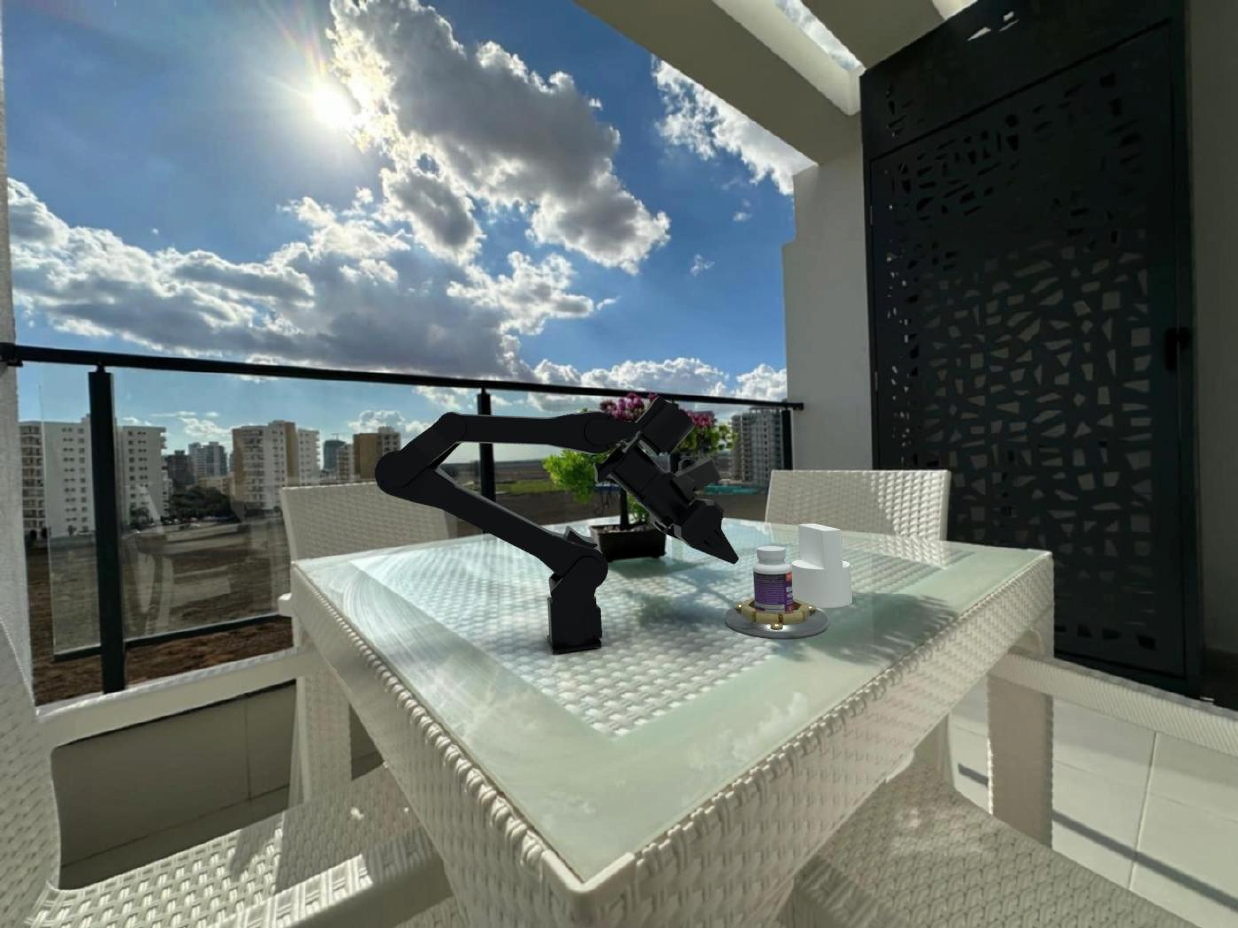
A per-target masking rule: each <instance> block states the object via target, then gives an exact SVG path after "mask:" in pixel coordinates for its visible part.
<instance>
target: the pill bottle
mask: <svg viewBox="0 0 1238 928" xmlns="http://www.w3.org/2000/svg"><path fill="white" fill-rule="evenodd" d="M786 553H787V550H786V547H783V546H778V545H776V546H775V545H772V546H771V545H767V546H766V545H765V546H759V547H757V548H756V558H757V559H758V561H757V562H755V563H754V564H753V567H752V577H753V596H754V597H753V598H754V600H755V609H756V610H758V611H768V612H778V613H780V612H787V611H794V606H793V581H792V565H790V563H788V562H786V561H785V559H786V557H787V554H786Z"/></svg>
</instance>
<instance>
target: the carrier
mask: <svg viewBox="0 0 1238 928" xmlns="http://www.w3.org/2000/svg"><path fill="white" fill-rule="evenodd" d="M793 606H794V611H787V612H780V613H778V612H768V611H758V610H756V609H755V600H754V597H751V598H749V599H746V600H744V601H743V603H741V602H740V603H739V602H737V603H734V607H731V608H729V609H728V610H727V611H726V612H725V622H726V625H727V626H728V628H730V629H731V630H733V631H734V632H738V633H739V634H743V635H747V636H751V637H755V638H756V637H758V638H763V639H764V638H765V639H774V640H775V639H777V640H780V639H781V640H789V639H794V640H795V639H801V638H802V639H803V638H808V637H812V636H817V635H819V634H822V633H823V632H825V631H826V630H827V628H828V624H829V623H828V616H827V615H826V613H824V612H823V611H821V610H819V609H817V607H816V606H814V605H808V604H807V603H805V602H803V601H800V600H798V599H793Z"/></svg>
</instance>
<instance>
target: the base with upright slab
mask: <svg viewBox="0 0 1238 928" xmlns="http://www.w3.org/2000/svg"><path fill="white" fill-rule="evenodd" d="M797 525H798V526H797V527H798V528H797V529H798V547H799V549H798V550H799V559H796V560H793V561H792V562H791V569H792V587H793V599H798V600H800V601H803V602H805V603H807V604H808V605H814V606H816V608H821V609H822V608H823V609H824V608H827V609H830V608H831V609H832V608H835V609H836V608H843V607H847V606H849V605H851V604H852V603H853V593H852V591H853V590H852V571H851V563H850V562H848V561H845V560H843V545H842V529H839V528H835V527H831V526H827V525H822V524H819V523H800V524H797ZM846 605H847V606H846Z"/></svg>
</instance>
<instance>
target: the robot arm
mask: <svg viewBox="0 0 1238 928" xmlns="http://www.w3.org/2000/svg"><path fill="white" fill-rule="evenodd" d="M694 429H695V423H694V421H693V420H692V419H691V417H690V416H689V415H688V414H687V413H686V412H685V411H684V410H683V409H681V408H678V407H677V406H676V405H674V404H673V403H671V402H670V401H667V400H665V398H663V396H661V395H659V396H657V397H655V398H654V399H653V400H652V402H651V403H649V406H648V408H647V409H646V410H645V411H644V412H643V413H642V414H641V416H640V417H639V418H638V419H637V420H635V422H634V421H631V420H629V421H626V420H618V419H617V420H616V419H614V418H613V416H611V414H609V413H608V412H606V411H603V410H588V411H579V412H574V413H567V414H562V415H557V416H550V417H541V416H518V415H516V416H515V415H496V414H495V415H492V414H474V413H473V414H472V413H471V414H470V413H460V412H457V411H448V412H445V413H443V414H442V415H440V417H439V418H438V419H437V420H436V421H435V422H434V423H433V424H431V426H429V427H428V428H427V429H425V430H423V432H421V433H420V434H418V435H417V436H416V437H414V438H413V439H412V440H410V441H409V442H408V443H407V444H406V445H404V447H402V448H401V449H397V450H392V451H389V452H387V453H386V454H384V455H382V456H381V457H380V458H379V460H378V461H377V463H376V465H375V468H374V479H375V482H376V485H377V487H378V489H380V490H381V491H382V492H383V493H385V494H386V495H389V496H391V497H395V498H397V499H402V500H404V501H408V502H410V503H415V504H417V505H423V506H427V507H431V508H436V509H440V510H442V511H444V512H446V513H448V514H450V515H452V516H454V517H456V518H458V519H460V520H462V521H464V522H466V523H468V524H470V525H471V526H474V527H476V528H478V529H480V530H481V531H484V532H486V533H488V534H490V535H492V536H494V537H495V538H498V539H500V540H502V541H504V542H506V543H508V544H510V545H511V546H513V547H516V548H517V549H519V550H521V551H523V552H525V553H527V554H530V555H531V556H533V557H535V558H536V559H538V560H539V561H540V562H541V563H543V564H544V565H545V566H546V567H547V568H548V569H550V570H551V571H552V572H553V573H552V574H551V575H550V576H549V577H548V587H549V593H550V594H549V595H550V597H546V598H547V599H546V601H547V603H546V604H547V620H548V623H547V624H548V634H547V635H546V638H547V639H546V640H547V642H548V644H549V647H550V650H551V652H552V653H553V654H554V655H555V654H563V653H569V652H576V651H582V650H589V649H595V648H596V649H597V648H601V647H602V646H603V645H602V641H601V639H602V638H603V625H602V608H601V607H600V606H599V605H598V603H597V597H596V595H595V594H596V591H597V589H598V588H599V587H600V586H601V585H603V583H604V582H605V581H606V579H607V576H608V573H609V563H608V561H607V557H606V556H605V555H604V554H603V552H602V551H601V550H600V548H599V547H598V546H599V545H598V543H597V542H596V541H595V539H594V538H593V537H592V536H585V535H584V534H581V533H579V532H577V531H576V530H575V529H574V528H572V527H571V526H570V525H567V526H566V527H565V530H564V533H561V532H556V531H553V530H550V529H547V528H545V527H543V526H541V525H539V524H537V523H535V522H534V521H531V520H530V519H528V518H527V517H523V516H522V515H520V514H518V513H516V512H514V511H512V510H510V509H509V508H507V507H504V506H502V505H500V504H498V503H497V502H494V501H492V500H491V499H488V498H487V497H486V496H483V495H481V494H479V493H477V492H475V491H474V490H471V489H469V488H468V487H466V486H464V485H462V484H460V483H458V482H457V481H456V480H455V479H454V478H453V477H451V476H450V475H449V474H448V473H446V471H444V470H443V469H442V468H441V467H440V466H441V464H443V462H445V460H447V459H448V458H449V457H450V456H451V454H452V453H453V452H454V451H455V450H456V449H457V448H458V447H460V445H462V444H463V443H467V444H468V443H469V444H470V443H471V444H498V445H499V444H501V445H528V446H531V445H532V446H550V447H553V448H558V449H562V450H566V451H571V452H575V453H581V454H584V455H585V454H587V455H593V456H594V455H600V454H605V453H607V452H609V451H610V450H612V448H614V446H615V445H616V443H617V442H622V441H625V440H630V439H632V440H631V441H630V442H629V443H628V444H627V446H626V447H624V448H623V449H622V450H621V449H620V448H617V447H616V448H614V450H612V452H611V453H610V454H609V455H608V456H607V457H606V458H605V459H604V460H603V461H602V462H594V463H592V464H593V465H592V466H593V469H594V482H596V483H598V484H601V483H603V482H604V481H605V480H606V478H607V477H610V478H612V479H613V481H614V482H616V483H617V484H618V485H619V486H620V487H621V488H622V489H623V490H624V491H626V493H627V494H628V495H629V496H630V497H632V498H633V502H635V503H636V504H637V505H638V506H640V507H642V508H644V509H645V511H646V512H648V513H649V523H651V524H652V525H653V526H654V527H655V529H657V530H658V531H660V532H662V533H663V534H665V535H667V536H669V537H671V538H674V539H676V540H678V541H682V542H683V543H684V544H685V545H686V547H687V546H688V547H690V548H691V549H693V550H697V551H698V552H702V553H704V554H706V555H709V556H712V557H713V558H716V559H720V560H721V561H724V562H727V563H729V564H732V565H736V564H737V563H738V561H740V557H739V556H738V554H737V553H736V551H735V549H734V548H733V546H732V544H731V543H730V541H729V540H728V538H727V536H726V534H725V533H724V531H723V529H722V523H723V519H724V512H725V509H723V507H721V506H720V505H719V503H717V502H716V501H715V499H710V498H709V499H708V498H698V496H699V495H698V494H697V493H696V492H697V491H699V490H701V489H703V488H706V487H707V486H709V485H711V484H712V483H715V484H716V483H718V482H719V481H720V480H722V476H721V474H720V472H719V470H718V468H717V466H716V464H715V462H714V459H713V458H712V457H711V458H707V457H706V458H702V459H698V460H697V461H694V459H692V458H690V457H686V458H684V459H682V460H680V461H678V468H677V469H678V470H677V471H676V472H675V473H674V472H673V471H666V470H664V469H663V468H662V467H661V466H660V465H659V464H658V463H657V462H656V461H655V460H654V459H653V458H652V457H650V456H649V454H650V455H651V456H653V457H654V458H659V457H660V455H662V456H664V457H666V458H667V457H670V455H671V454H672V453H673V452H674V450H676V448H678V446H679V445H680V444H681V443H682V442H683V441H684V440H685V439H686V437H687V436H688V435H689V434H690V433H691V432H692V431H693V430H694ZM638 444H640V445H641V446H642V448H644V450H646V451H647V452H648V453H649V454H647V453H646V451H644V450H643V449H642V448H641V447H640V446H639V445H638Z"/></svg>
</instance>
